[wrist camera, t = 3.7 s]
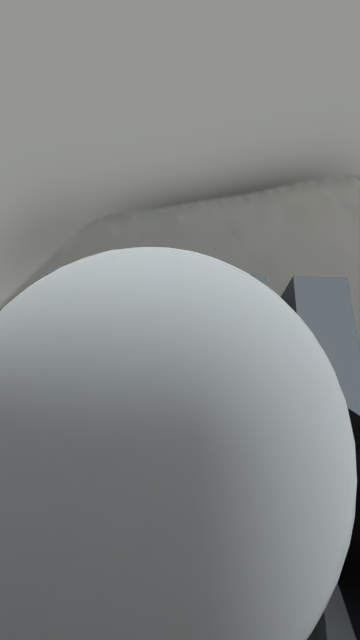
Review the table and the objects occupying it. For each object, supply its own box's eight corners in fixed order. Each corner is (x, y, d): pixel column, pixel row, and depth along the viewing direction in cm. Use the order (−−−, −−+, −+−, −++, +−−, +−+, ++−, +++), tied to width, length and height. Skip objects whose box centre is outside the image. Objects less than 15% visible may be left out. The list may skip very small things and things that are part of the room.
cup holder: (355, 650, 11) (432, 753, 8) (4, 601, 12) (-77, 668, 9) (314, 312, 17) (347, 277, 13) (78, 301, 18) (48, 267, 15)
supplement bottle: (96, 430, 15) (-261, 398, 3) (186, 349, 17) (157, 129, 5) (180, 544, 13) (4, 1627, 1) (274, 438, 14) (613, 436, 3)
